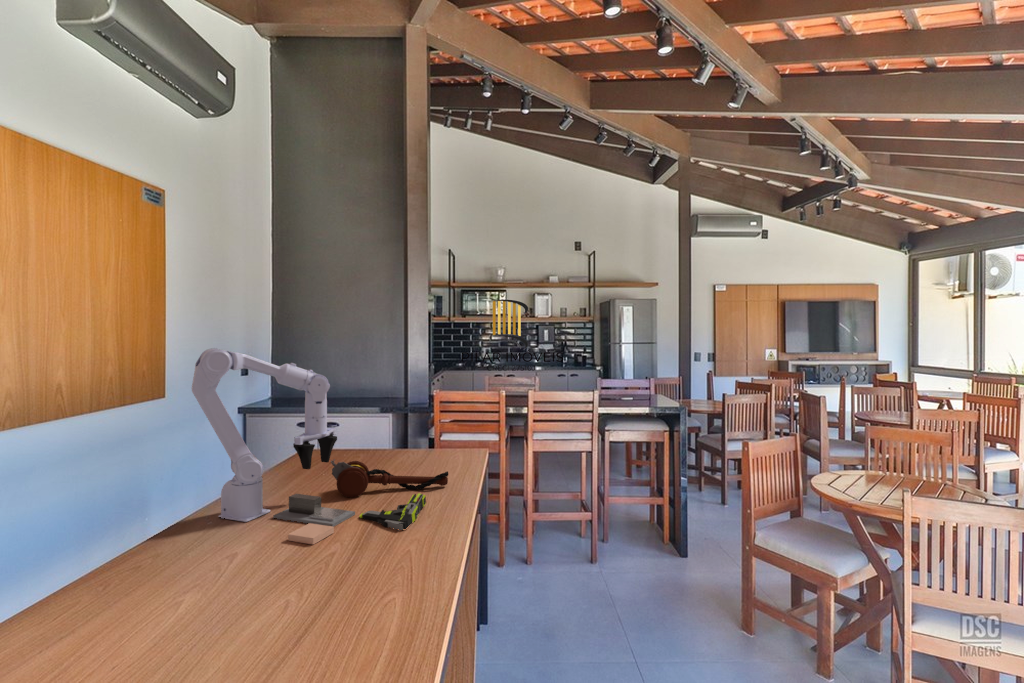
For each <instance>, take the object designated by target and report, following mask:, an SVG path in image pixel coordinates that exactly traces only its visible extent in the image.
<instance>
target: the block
mask: <svg viewBox="0 0 1024 683" xmlns="http://www.w3.org/2000/svg"><path fill="white" fill-rule="evenodd" d="M334 532H335V526H334V527H332V526H325V525H319V524H312V523H309V524H307V523H306V524H305V525H302V526H300V527H299V528H297V529H295V530H294V531H291V532H290V533H288V534H287V540H288V541H290V542H294V543H295V542H296V543H302V544H308V545H315V544H317V543H318V542H320V541H322V540H324V539H325V538H327V537H330V536H331V535H333V534H334Z"/></svg>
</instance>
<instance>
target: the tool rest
mask: <svg viewBox="0 0 1024 683" xmlns="http://www.w3.org/2000/svg"><path fill="white" fill-rule="evenodd" d="M324 508H326V507H323V506H321V510H322V509H324ZM338 509H339V508H338ZM339 510H341V509H339ZM347 511H348V513H347V514H345V515H344V516H342V517H340V518H338V519H336V520H334V521H328V520H321V519H314V518H310V515H307V514H300V513H293V512H289V508H286V509H285V510H282V511H280V512H278V513H275V514H273V518H272V519H274V518H277V519H276V520H280V519H283V520H282V521H287V520H291V521H290V522H294V521H297V522H296V523H300V522H303V523H302V524H307V523H308V524H309V523H312V524H319V525H325V526H332V527H334V528H335V527H336V526H337V525H339V524H341V523H342V522H345V521H346V520H348V519H350V518H352V517H353V516H355V515H356V511H353V510H347Z"/></svg>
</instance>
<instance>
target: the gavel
mask: <svg viewBox="0 0 1024 683" xmlns="http://www.w3.org/2000/svg"><path fill="white" fill-rule="evenodd" d="M335 461H336V460H335V458H334V459H333V460H330V463H331V465H332V466H333V468H332V469H331V472H332V473H331V475H332V477H333V478H334V479H335V480H336V489H337V491H338V492H339V493H340V494H341V495H342V496H344V497H345V498H356V497H359V496H361V495H362V494H364V492H365V491H366V490H367V489H368V486H369V484H378V485H381V484H382V486H384V487H385V486H387V485H388V484H389V485H390V484H394V485H396V484H397V485H398V486H400V487H402V488H405V489H407V490H411V489H417V490H423V489H425V488H427V487H430V486H431V485H439V486H442V487H443V486H446V485H448V483H449V478H448V476H449V471H445V472H443V473H440V474H437V475H435V476H419V475H418V476H415V475H414V476H413V475H410V476H409V475H394V474H391V473H390V472H389V471H387V470H385V469H379V468H374V469H372V470H369V468H368V466H367V465H366V464H365V463H363V462H362V461H360V460H351V461H349V462H345V461H339V462H337V463H335Z"/></svg>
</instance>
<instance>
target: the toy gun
mask: <svg viewBox="0 0 1024 683" xmlns="http://www.w3.org/2000/svg"><path fill="white" fill-rule="evenodd" d="M426 496H427V495H426V494H423V493H420V492H418V493H417V494H416V493H414V494H412V496H411V497H410V499H409V500H408V502H407V503H406V504H399V505H397V507H396V509H393V510H386V511H385V509H382V510H381V511H379V510H378V511H377V510H367V511H365V512H362V513H360V515H359V518H360V519H362V520H365V521H368V522H369V521H371V522H375V523H377V524H380V523H381V526H383V527H384V526H385V527H384V528H389V527H391V528H390V529H392V528H394V529H393V530H395V529H399V530H403V529H406V528H407V527H408V526H409V525H410V524H413V523H415V522H416V521H417V519H418V516H419V514H420V512H421V511H422V509H423V507H425V506H426V504H427V499H426ZM415 520H416V521H415ZM414 521H415V522H414ZM412 522H413V523H412ZM410 526H411V525H410ZM410 526H409V527H410ZM399 530H398V531H399ZM406 530H407V529H406Z"/></svg>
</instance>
